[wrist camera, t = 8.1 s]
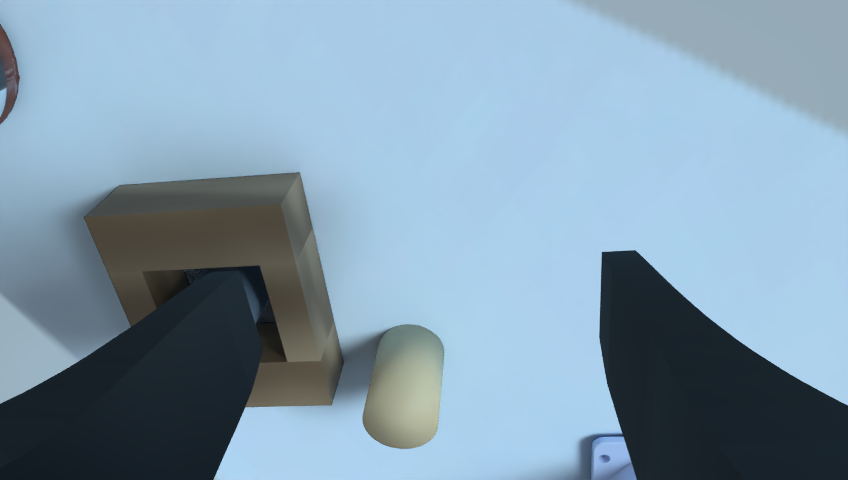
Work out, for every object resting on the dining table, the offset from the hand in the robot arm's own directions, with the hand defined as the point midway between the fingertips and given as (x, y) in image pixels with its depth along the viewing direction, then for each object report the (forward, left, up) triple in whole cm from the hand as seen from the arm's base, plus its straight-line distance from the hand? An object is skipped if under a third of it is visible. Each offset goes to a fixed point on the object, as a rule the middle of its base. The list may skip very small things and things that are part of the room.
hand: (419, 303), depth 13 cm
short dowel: (-10, +3, -10) cm, 15 cm away
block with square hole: (-6, +9, -10) cm, 15 cm away
